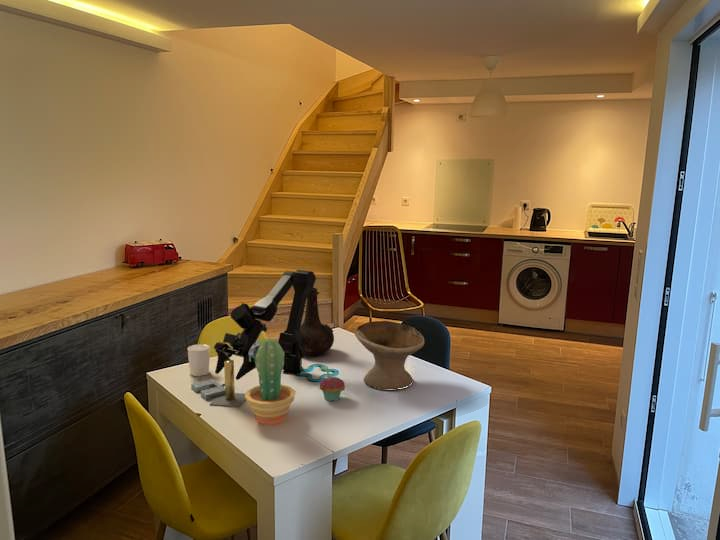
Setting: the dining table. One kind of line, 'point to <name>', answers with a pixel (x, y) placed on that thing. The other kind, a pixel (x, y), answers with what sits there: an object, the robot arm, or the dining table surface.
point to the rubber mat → (233, 403)
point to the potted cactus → (269, 383)
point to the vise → (209, 389)
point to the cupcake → (331, 387)
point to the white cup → (199, 359)
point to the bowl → (389, 352)
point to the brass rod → (229, 380)
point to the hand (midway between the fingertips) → (226, 376)
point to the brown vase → (315, 329)
